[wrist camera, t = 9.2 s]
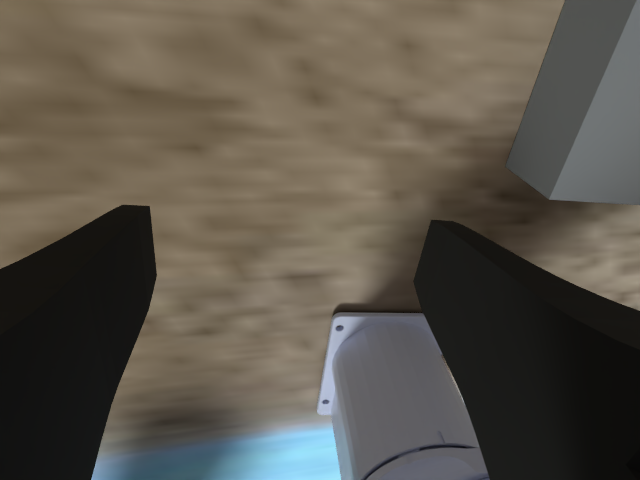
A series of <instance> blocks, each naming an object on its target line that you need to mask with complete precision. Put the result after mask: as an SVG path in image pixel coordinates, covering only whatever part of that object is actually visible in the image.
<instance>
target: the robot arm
mask: <svg viewBox="0 0 640 480" xmlns="http://www.w3.org/2000/svg"><path fill="white" fill-rule="evenodd" d="M156 276H157V273H156V263H155V253H154V244H153V234H152V224H151V214H150V206H137V205H121V206H119V207H117V208H115V209H113V210H111V211H109V212H107V213H106V214H104V215H102V216H100V217H99V218H97V219H95V220H94V221H92V222H90V223H88V224H87V225H85V226H83V227H81V228H80V229H78V230H76V231H74V232H73V233H71V234H69V235H67V236H66V237H64V238H62V239H60V240H58V241H56V242H54V243H52V244H51V245H49V246H47V247H45V248H43V249H41V250H39V251H37V252H35V253H33V254H31V255H29V256H27V257H25V258H23V259H21V260H19V261H17V262H15V263H13V264H11V265H8V266H6V267H4V268H2V269H0V480H91V478H92V474H93V470H94V467H95V463H96V459H97V455H98V451H99V447H100V444H101V440H102V436H103V433H104V429H105V426H106V422H107V419H108V415H109V411H110V408H111V404H112V402H113V399H114V396H115V393H116V390H117V387H118V385H119V382H120V380H121V377H122V375H123V372H124V370H125V367H126V365H127V362H128V360H129V357H130V355H131V352H132V350H133V348H134V345H135V343H136V340H137V338H138V335H139V333H140V330H141V328H142V325H143V323H144V320H145V317H146V315H147V312H148V310H149V306H150V302H151V298H152V294H153V290H154V285H155V281H156ZM414 285H415V288H416V292H417V296H418V299H419V302H420V305H421V308H422V311H423V313H352V312H340V313H336V314H335V315H334V316H333V317H332V321H331V327H330V333H329V338H328V344H327V350H326V356H325V362H324V367H323V373H322V379H321V385H320V391H319V396H318V402H317V413H318V414H320V415H331V418H332V424H333V430H334V437H335V443H336V449H337V455H338V462H339V468H340V474H341V480H640V311H638V310H636V309H633V308H630V307H627V306H624V305H622V304H619V303H617V302H614V301H612V300H609V299H607V298H604V297H602V296H599V295H597V294H595V293H592V292H590V291H588V290H586V289H583V288H581V287H579V286H576V285H574V284H572V283H570V282H568V281H566V280H563V279H561V278H559V277H557V276H555V275H553V274H551V273H549V272H548V271H546V270H544V269H542V268H540V267H538V266H536V265H534V264H532V263H530V262H528V261H527V260H525V259H523V258H521V257H519V256H517V255H516V254H514V253H512V252H510V251H509V250H507V249H505V248H503V247H501V246H500V245H498V244H496V243H494V242H493V241H491V240H489V239H487V238H486V237H484V236H482V235H480V234H479V233H477V232H475V231H473V230H471V229H469V228H467V227H465V226H463V225H461V224H459V223H456V222H454V221H441V220H431V222H430V226H429V229H428V233H427V236H426V240H425V243H424V247H423V250H422V254H421V257H420V261H419V264H418V268H417V271H416V275H415V278H414ZM338 325H342V326H341V327H337V326H338ZM442 354H443V356H444V358H445V360H446V362H447V364H448V366H449V368H450V371H451V373H452V375H453V377H454V379H455V381H456V383H457V386H458V388H459V390H460V393H461V395H462V397H463V400H464V402H463V400H462V398H461V396H460V394H459V392H458V390H457V388H456V386H455V384H454V382H453V379H452V377H451V375H450V373H449V371H448V369H447V367H446V365H445V363H444V361H443V359H442V357H441V356H442ZM464 403H465V404H464Z"/></svg>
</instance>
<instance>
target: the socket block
mask: <svg viewBox="0 0 640 480" xmlns="http://www.w3.org/2000/svg"><path fill="white" fill-rule="evenodd" d="M505 167H506V168H508V169H509V170H510V171H512V172H513V173H514V174H516V175H517V176H518V177H520V178H521V179H522V180H524V181H525V182H526V183H528V184H529V185H530V186H532V187H533V188H534V189H536V190H537V191H538V192H540V193H541V194H542V195H544V196H545V197H546V198H548V199H549V200H565V201H581V202H598V203H614V204H630V205H640V0H565V3H564V6H563V9H562V11H561V14H560V17H559V20H558V22H557V25H556V28H555V31H554V33H553V36H552V39H551V42H550V44H549V47H548V50H547V53H546V55H545V58H544V61H543V64H542V66H541V69H540V72H539V75H538V77H537V80H536V83H535V86H534V88H533V91H532V94H531V97H530V99H529V102H528V105H527V108H526V111H525V113H524V116H523V119H522V122H521V124H520V127H519V130H518V133H517V135H516V138H515V141H514V144H513V146H512V149H511V152H510V155H509V157H508V160H507V163H506V166H505Z"/></svg>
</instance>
